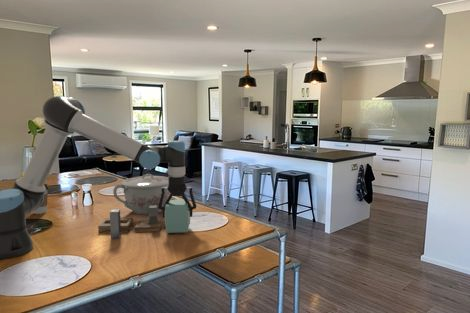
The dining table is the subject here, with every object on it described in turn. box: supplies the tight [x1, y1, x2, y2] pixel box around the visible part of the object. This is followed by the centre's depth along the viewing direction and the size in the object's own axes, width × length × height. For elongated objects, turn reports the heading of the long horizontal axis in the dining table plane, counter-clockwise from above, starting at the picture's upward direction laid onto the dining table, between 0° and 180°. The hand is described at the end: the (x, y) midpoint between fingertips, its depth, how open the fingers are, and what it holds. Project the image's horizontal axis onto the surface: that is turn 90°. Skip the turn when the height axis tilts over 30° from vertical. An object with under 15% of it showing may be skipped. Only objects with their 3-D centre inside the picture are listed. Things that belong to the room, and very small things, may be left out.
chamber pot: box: [112, 173, 171, 216], centre depth 182 cm, size 28×28×21 cm
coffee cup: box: [34, 183, 49, 215], centre depth 179 cm, size 8×8×15 cm
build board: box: [97, 217, 134, 233], centre depth 157 cm, size 11×13×3 cm
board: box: [134, 206, 164, 233], centre depth 157 cm, size 11×11×10 cm
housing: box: [164, 199, 190, 234], centre depth 152 cm, size 10×10×12 cm
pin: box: [109, 208, 122, 240], centre depth 144 cm, size 3×3×12 cm
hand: (177, 223), depth 153 cm, fingers closed on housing, 10 cm apart
